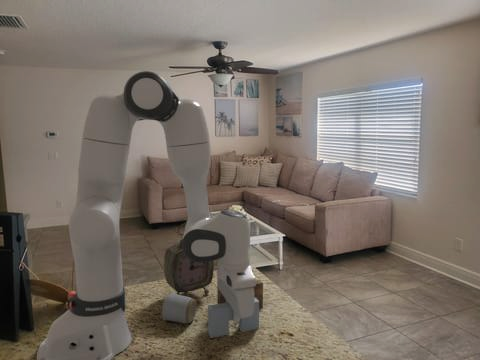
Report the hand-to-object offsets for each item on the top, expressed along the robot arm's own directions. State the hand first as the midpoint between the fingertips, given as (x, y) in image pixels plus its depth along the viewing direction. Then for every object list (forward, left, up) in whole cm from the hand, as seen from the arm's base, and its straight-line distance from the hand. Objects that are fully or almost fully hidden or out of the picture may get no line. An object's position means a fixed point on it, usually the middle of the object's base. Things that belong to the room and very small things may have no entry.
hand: (233, 317), depth 105 cm
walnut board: (+6, +11, -4) cm, 13 cm away
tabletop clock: (-7, +26, -4) cm, 27 cm away
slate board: (0, 0, -4) cm, 4 cm away
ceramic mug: (-12, +12, -4) cm, 18 cm away
